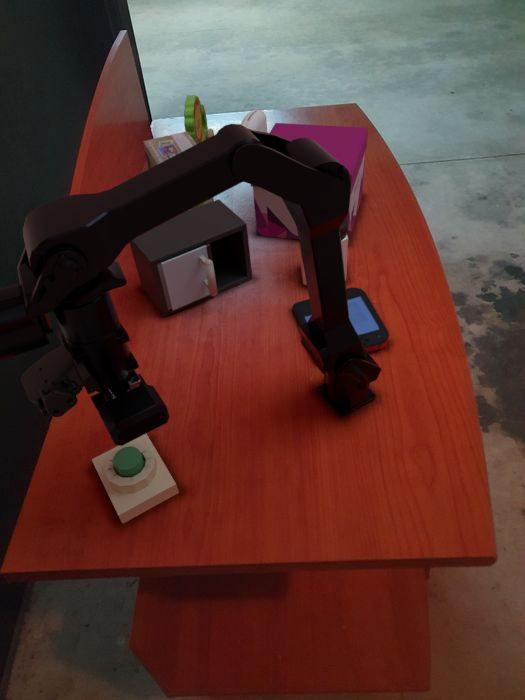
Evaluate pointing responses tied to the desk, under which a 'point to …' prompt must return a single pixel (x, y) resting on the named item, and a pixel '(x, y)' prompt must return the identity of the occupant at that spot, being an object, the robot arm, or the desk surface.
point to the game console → (355, 318)
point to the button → (128, 461)
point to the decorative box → (338, 143)
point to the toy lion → (196, 119)
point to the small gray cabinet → (189, 234)
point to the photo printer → (255, 121)
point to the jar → (344, 249)
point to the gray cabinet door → (190, 277)
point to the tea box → (168, 150)
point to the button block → (136, 480)
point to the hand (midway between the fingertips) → (127, 418)
